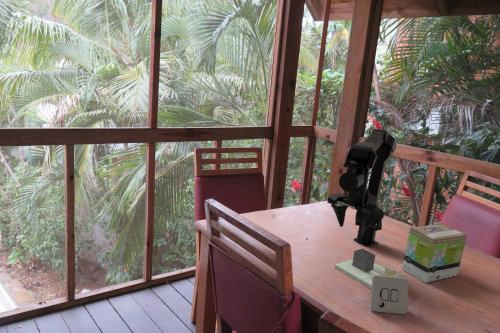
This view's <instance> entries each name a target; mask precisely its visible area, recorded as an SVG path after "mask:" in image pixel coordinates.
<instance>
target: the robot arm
mask: <svg viewBox="0 0 500 333" xmlns="http://www.w3.org/2000/svg"><path fill="white" fill-rule="evenodd" d="M396 149H397V140H396V138H395V137H394V136H392V135H391V134H390V133H389V131H388V130H386V129H380V128H374V129H372V130H371V133H370V134H369V135H368V136H367V137H366V138H365V139H364V141H362V142H360V141H359V142H356V143H354V144H353V145H352V146H351V147H350V148H349V150H348V152H347V155H346V157H345V161H344V164H343V167H344V168H347V169H346V172H344V173H342V174H341V175H340V177H339V178H338V183H339V184H338V185H339V187H340V188H341V189H342V190H343V191H345V192H346V195H345V194H344V193H341V192H337V193H331V194H329V195H328V197H327V204H330V207H331V208H332V209H333V212H334V214H335V216H336V218H337V220H336V221H337V222H338V225H339V227H340V228H343V227H344V224H345V219H346V213H347V209H348V208H351V209H354V210H355V211H356V212H355V216H354V218H355V219H354V220H355V223H354V225H355V226H358V229H357V234H356V235H357V236H356V237H355V238H353V241H355V242H357V243H359V244H361V245H362V246H365V247H371V246H374V245H377V244H378V243H379V242H378V241H377V240H376V233H377V232H378V231H382V228H383V219H384V218H385V217H384V216H385V211H384V210H383V209H382V208H381V207H380V206H381V205H380V204H379V199H380V195H381V194H380V193H381V189H382V185H383V184H382V183H383V179H384V175H385V171H386V170H385V169H386V165H387V163H388V161H389V160H390V159H391V158H392V157H393V155H394V153H395V152H396Z"/></svg>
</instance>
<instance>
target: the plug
mask: <svg viewBox="0 0 500 333" xmlns="http://www.w3.org/2000/svg"><path fill="white" fill-rule="evenodd" d="M352 259H353V263H352V266H354V267H356V268H358V269H360V270H361V271H363V272H367V271H370V270H373V267H374V263H375V261H376V254H374V253H372V252H371V251H368V250H367V249H365V248H360V249H356V250H354V251H353V257H352Z"/></svg>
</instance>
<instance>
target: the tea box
mask: <svg viewBox="0 0 500 333" xmlns="http://www.w3.org/2000/svg"><path fill="white" fill-rule="evenodd" d="M409 228H410V229H409V232H408V238H407V241H406V247H405V250H404V251H405V252H404V255H403V256H404V257H403V261H402V265H401V270H403V271H404V272H406V273H408V274H410V275H412V276H413V277H414V278H416V279H417V280H420V281H421V282H423V283H425V284H427V283H430V282H434V281H440V280H442V279H443V280H445V279H448V277H449V278H453V277H452V276H455V277H457V276H458V274H459V271H460V270H459V269H460V266H461V262H462V257H463V253H464V251H465V249H464V248H465V245H466V241H467V237H468V236H467V235H468V234H466V233H464V232H461V231H460V230H458V229H454V228H453V227H450V226H448V225H445V224H443V223H438V224H437V223H436V224H429V225H422V226H414V227H413V226H412V227H409ZM456 275H457V276H456ZM444 278H445V279H444Z"/></svg>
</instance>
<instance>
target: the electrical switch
mask: <svg viewBox="0 0 500 333" xmlns="http://www.w3.org/2000/svg"><path fill="white" fill-rule="evenodd" d="M409 283H410V281H409V279H408V278H407V277H403V278H402V277H393V276H383V275H373V276H372V288H371V289H370V290H371V291H370V292H371V293H370V301H369V309H370V310H371V311H372V312H379V313H388V314H397V315H406V314H407V310H408V297H409Z"/></svg>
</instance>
